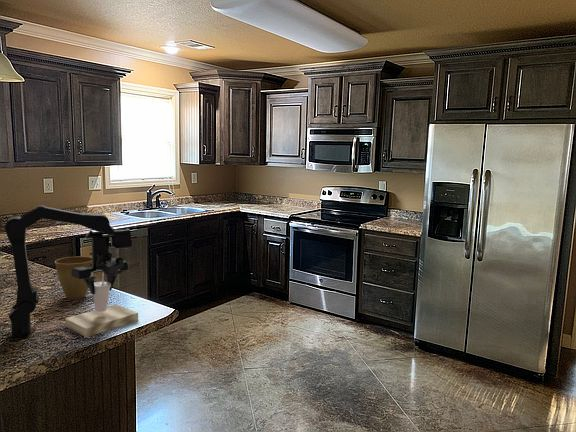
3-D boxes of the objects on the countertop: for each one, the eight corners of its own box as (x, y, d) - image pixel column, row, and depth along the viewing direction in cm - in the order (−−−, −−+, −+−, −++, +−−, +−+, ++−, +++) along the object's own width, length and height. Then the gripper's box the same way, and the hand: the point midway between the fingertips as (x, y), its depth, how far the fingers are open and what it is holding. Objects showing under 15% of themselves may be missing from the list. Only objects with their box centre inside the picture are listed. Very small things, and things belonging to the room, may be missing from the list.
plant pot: (102, 295, 191) (101, 259, 189) (68, 304, 178) (67, 265, 176) (82, 288, 199) (81, 254, 197) (49, 297, 187) (47, 260, 184)
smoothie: (103, 314, 156) (104, 275, 154) (87, 311, 157) (87, 273, 155) (114, 308, 162) (115, 271, 160) (98, 306, 163) (99, 269, 161)
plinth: (86, 337, 148) (86, 328, 148) (65, 326, 156) (65, 318, 156) (138, 320, 164) (138, 312, 163) (116, 311, 172) (116, 304, 172)
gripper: (87, 257, 144) (88, 303, 146) (137, 249, 159) (137, 291, 161) (70, 252, 151) (71, 296, 153) (119, 244, 166) (120, 285, 168)
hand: (101, 292), depth 158 cm, fingers closed on smoothie, 6 cm apart
